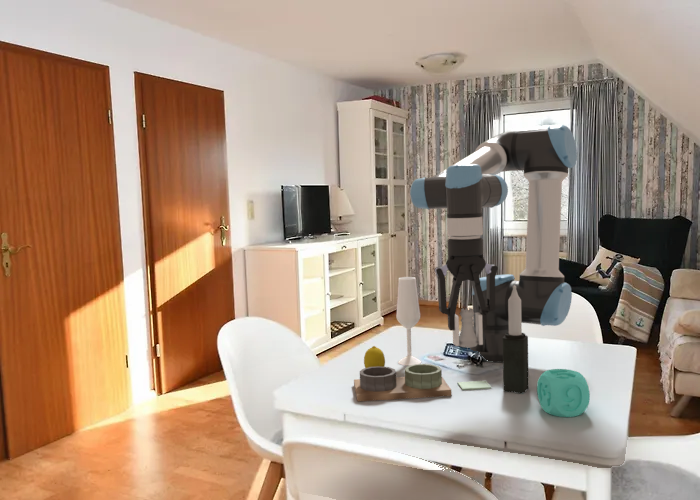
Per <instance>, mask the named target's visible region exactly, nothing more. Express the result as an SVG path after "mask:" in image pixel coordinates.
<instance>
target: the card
mask: <svg viewBox="0 0 700 500" xmlns="http://www.w3.org/2000/svg"><path fill="white" fill-rule="evenodd" d="M457 385H458V386H459V388H461V390H462V391H471V390H473V391H475V390H477V391H478V390H489V389H491V390H492V386H491V384H489V383H488V382H487V381H486V380H474V381H472V380H471V381H460V382H459V381H457Z"/></svg>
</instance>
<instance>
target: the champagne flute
mask: <svg viewBox="0 0 700 500" xmlns="http://www.w3.org/2000/svg"><path fill="white" fill-rule="evenodd" d="M397 282H398V285H397V298H396V299H397V301H396V320H397V321H398V323H399V324H400V325H401V326H402V327H403V328H405V329H406V347H407V348H406V351H407V355H406V356H405V357H403V358H401V359H400V360H399V361H397V363H398V364H399V365H402V366H407V367H408V366H411V365H415V364H422V361H421V360H420V359H418V358H417V357H415V356H413V354H412V331H411V329H412V328H414V327H415V326H416V325H417V324H418V322H419V321H420V319H421V311H420V304H419V303H420V301H419V295H418V288H417V287H418V286H417V280H416V277H414V276H413V277H412V276H402V277H398V281H397Z"/></svg>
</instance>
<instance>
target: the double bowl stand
mask: <svg viewBox="0 0 700 500" xmlns="http://www.w3.org/2000/svg"><path fill="white" fill-rule="evenodd" d="M442 370H443V369H442V368H441V367H440V365H439V366H438V365H435V364H429V363H421V364H415V365H411V366H408V365H407V366H406V367H405V368H404V376H397V370H396V369H395V368H394V367H393V368H392V367H390V366H384V367H382V366H378V367H368V368H365V367H364V368H363V369H361V370H359V378H358V379H357V378H356V379H353V387H354V391H355V396H356V400H357V401H356V402H371V401H372V402H373V401H390V400H405V399H406V400H407V399H424V398H440V397H452V392H453V391H452V389H451V387H450V386H449V385H448V383H447V382H446V380H445V379H444V377H443V376H442V375H443V374H442Z"/></svg>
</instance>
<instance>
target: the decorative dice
mask: <svg viewBox="0 0 700 500" xmlns="http://www.w3.org/2000/svg"><path fill="white" fill-rule="evenodd" d="M536 393H537V394H536V395H537V399H538V402H539V405H540V406H541V409H542V410H543V411H544V412H546V413H547V415H551V416H554V417H560V418H574V417H579V416H581V415H582V414H583V413H584V412H585V411H586V410H587V408H588V407H589V404H590V395H591V393H590V389H589V384H588V382H587V379H586V378H585V377H584V375H583V374H582V373H580V372H579V371H577V370H573V369H569V368H568V369H566V368H552V369H547V370H545V371H544V372H542V373H541V374H540V376H539V377H538V380H537V384H536Z"/></svg>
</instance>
